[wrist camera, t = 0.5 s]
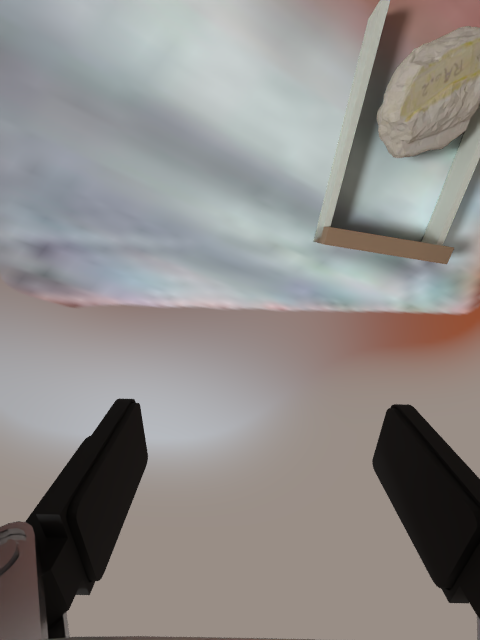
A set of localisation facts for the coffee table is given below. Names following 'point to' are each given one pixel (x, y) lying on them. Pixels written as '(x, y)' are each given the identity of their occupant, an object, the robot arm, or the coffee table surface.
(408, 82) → the fossil replica
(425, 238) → the channel
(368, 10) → the coffee table surface
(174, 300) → the coffee table surface
